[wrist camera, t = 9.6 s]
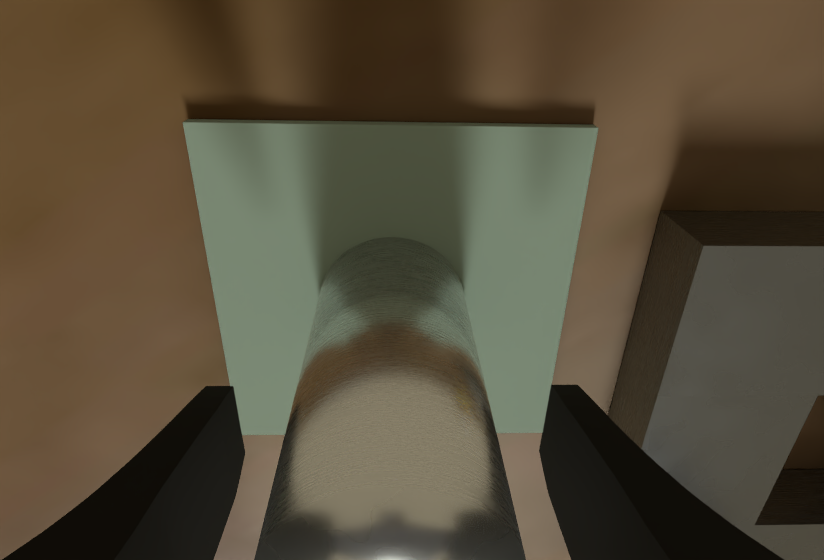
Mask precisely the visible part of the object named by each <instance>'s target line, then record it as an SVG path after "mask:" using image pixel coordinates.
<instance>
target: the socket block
mask: <svg viewBox="0 0 824 560" xmlns="http://www.w3.org/2000/svg"><path fill="white" fill-rule="evenodd" d="M818 395H824V212H749V211H661V212H660V216H659V220H658V224H657V228H656V232H655V235H654V239H653V243H652V247H651V251H650V255H649V259H648V263H647V267H646V271H645V275H644V278H643V282H642V286H641V290H640V294H639V298H638V302H637V306H636V310H635V314H634V317H633V321H632V325H631V329H630V333H629V337H628V341H627V345H626V349H625V353H624V357H623V360H622V364H621V368H620V372H619V376H618V380H617V384H616V388H615V392H614V396H613V400H612V403H611V407H610V411H609V415H608V417H609V418H610V419H611V420H612V421H613V422H614V423H615V424H616V425H617V426H618V427H619V428H620V429H621V430H622V431H623V432H624V433H625V434H626V435H627V436H628V437H629V438H630V439H632V440H633V441H634V442H635V443H636V444H637V445H638V446H639V447H640V448H641V449H642V450H643V451H644V452H645V453H646V454H647V455H648V456H649V457H651V458H652V459H653V460H654V461H655V462H656V463H657V464H658V465H659V466H660V467H662V468H663V469H664V470H665V471H666V472H667V473H669V474H670V475H671V476H672V477H673V478H674V479H675V480H677V481H678V482H679V483H680V484H681V485H682V486H684V487H685V488H686V489H687V490H688V491H690V492H691V493H692V494H693V495H695V496H696V497H697V498H698V499H700V500H701V501H702V502H703V503H705V504H706V505H707V506H709V507H710V508H711V509H713V510H714V511H715V512H717V513H718V514H719V515H721V516H722V517H723V518H724V519H726V520H727V521H728V522H730V523H731V524H733V525H734V526H735V527H737V528H738V529H740V530H741V531H742V532H744V533H745V534H747V535H748V536H750V537H751V538H753V539H754V540H756V541H757V542H759V543H760V544H762V545H763V546H765V547H766V548H768V549H769V550H770V551H772V552H773V553H775V554H776V555H778V556H779V557H781V558H783V559H784V560H824V469H804V470H782V468H783V466H784V464H785V462H786V460H787V458H788V456H789V454H790V452H791V450H792V447H793V445H794V443H795V441H796V439H797V437H798V435H799V433H800V431H801V429H802V427H803V425H804V423H805V421H806V419H807V417H808V415H809V413H810V411H811V409H812V407H813V405H814V403H815V401H816V398H817V396H818Z"/></svg>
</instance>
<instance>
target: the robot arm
mask: <svg viewBox="0 0 824 560" xmlns="http://www.w3.org/2000/svg"><path fill="white" fill-rule="evenodd" d="M539 452H540V456H541V461H542V466H543V471H544V476H545V480H546V485H547V489H548V493H549V496H550V499H551V502H552V505H553V508H554V511H555V514H556V517H557V520H558V523H559V526H560V529H561V531H562V534H563V537H564V540H565V543H566V546H567V549H568V551H569V554H570V557H571V560H784V559H783V558H781V557H779V556H778V555H776V554H775V553H773V552H772V551H770V550H769V549H768V548H766V547H765V546H763V545H762V544H760V543H759V542H757V541H756V540H754V539H753V538H751V537H750V536H748V535H747V534H745V533H744V532H742V531H741V530H740V529H738V528H737V527H735V526H734V525H733V524H731V523H730V522H728V521H727V520H726V519H724V518H723V517H722V516H721V515H719V514H718V513H717V512H715V511H714V510H713V509H711V508H710V507H709V506H707V505H706V504H705V503H703V502H702V501H701V500H700V499H698V498H697V497H696V496H695V495H693V494H692V493H691V492H690V491H688V490H687V489H686V488H685V487H684V486H682V485H681V484H680V483H679V482H678V481H677V480H675V479H674V478H673V477H672V476H671V475H670V474H669V473H667V472H666V471H665V470H664V469H663V468H662V467H660V466H659V465H658V464H657V463H656V462H655V461H654V460H653V459H652V458H651V457H649V456H648V455H647V454H646V453H645V452H644V451H643V450H642V449H641V448H640V447H639V446H638V445H637V444H636V443H635V442H634V441H633V440H632V439H630V438H629V437H628V436H627V435H626V434H625V433H624V432H623V431H622V430H621V429H620V428H619V427H618V426H617V425H616V424H615V423H614V422H613V421H612V420H611V419H610V418H609V417H608V416H607V415H606V414H605V412H604V411H603V410H602V409H601V408H600V407H599V406H598V405H597V404H596V403H595V402H594V401H593V400H592V399H591V398H590V397H589V396H588V395H587V394H586V393H585V392H584V391H583V390H582V389H581V388H580V387H579V386H578V385H551V389H550V394H549V400H548V405H547V411H546V416H545V422H544V427H543V433H542V438H541V444H540V449H539ZM244 456H245V449H244V444H243V438H242V432H241V427H240V421H239V415H238V410H237V404H236V398H235V393H234V387H233V386H206V387H205V388H204V389H203V390H201V391H200V392H199V393H198V394H197V395H196V396H195V397H194V398H193V399H192V400H191V401H190V402H189V403H188V404H187V405H186V406H185V407H184V408H183V409H182V410H181V411H180V412H179V413H178V414H177V415H176V417H175V418H174V419H173V420H172V421H171V422H170V423H169V424H168V425H167V426H166V427H165V428H164V429H163V430H162V431H160V432H159V433H158V434H157V435H156V436H155V437H154V438H153V439H152V440H151V441H150V442H149V443H148V444H147V445H146V446H145V447H144V448H143V449H142V450H141V451H140V452H139V453H138V454H137V455H136V456H134V457H133V458H132V459H131V460H130V461H129V462H128V463H127V464H126V465H125V466H123V467H122V468H121V469H120V470H119V471H118V472H117V473H116V474H114V475H113V476H112V477H111V478H110V479H109V480H108V481H106V482H105V483H104V484H103V485H102V486H101V487H100V488H99V489H97V490H96V491H95V492H94V493H93V494H91V495H90V496H89V497H88V498H86V499H85V500H84V501H83V502H81V503H80V504H79V505H78V506H76V507H75V508H74V509H73V510H71V511H70V512H69V513H67V514H66V515H65V516H63V517H62V518H61V519H59V520H58V521H57V522H55V523H54V524H53V525H52V526H50V527H49V528H47V529H46V530H45V531H43V532H42V533H41V534H39V535H38V536H36V537H35V538H33V539H32V540H30V541H29V542H27V543H26V544H24V545H23V546H21V547H20V548H19V549H17V550H16V551H14V552H13V553H11V554H10V555H8V556H7V557H5V558H4V559H2V560H213V559H214V556H215V553H216V551H217V548H218V545H219V542H220V539H221V537H222V534H223V531H224V528H225V525H226V522H227V520H228V517H229V514H230V511H231V508H232V505H233V502H234V499H235V496H236V492H237V488H238V484H239V479H240V475H241V470H242V465H243V461H244Z"/></svg>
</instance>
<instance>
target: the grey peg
mask: <svg viewBox="0 0 824 560" xmlns="http://www.w3.org/2000/svg"><path fill="white" fill-rule="evenodd" d="M254 560H526V559H525V554H524V550H523V545H522V541H521V537H520V532H519V528H518V524H517V520H516V515H515V511H514V507H513V502H512V498H511V494H510V489H509V485H508V481H507V477H506V472H505V468H504V464H503V459H502V455H501V451H500V446H499V442H498V438H497V434H496V429H495V425H494V421H493V416H492V412H491V408H490V403H489V399H488V395H487V391H486V386H485V382H484V378H483V373H482V369H481V365H480V360H479V356H478V352H477V348H476V343H475V339H474V335H473V330H472V326H471V322H470V317H469V313H468V309H467V305H466V300H465V296H464V292H463V287H462V284H461V281H460V278H459V276H458V274H457V272H456V270H455V269H454V267H453V266H452V265H451V263H450V262H449V261H448V260H447V259H446V258H445V257H444V256H443V255H442V254H440V253H439V252H438V251H436V250H435V249H433V248H431V247H430V246H428V245H426V244H423V243H421V242H418V241H415V240H411V239H406V238H398V237H386V238H378V239H372V240H369V241H366V242H363V243H360V244H358V245H356V246H354V247H352V248H351V249H349V250H347V251H346V252H345V253H343V254H342V255H341V256H340V257H339V258H338V259H337V260H336V261H335V262H334V263H333V264H332V265H331V267H330V268H329V270H328V271H327V273H326V275H325V278H324V280H323V283H322V286H321V290H320V294H319V298H318V302H317V306H316V311H315V315H314V319H313V323H312V327H311V331H310V335H309V339H308V343H307V347H306V351H305V355H304V359H303V364H302V368H301V372H300V376H299V380H298V384H297V388H296V392H295V396H294V400H293V404H292V408H291V412H290V417H289V421H288V425H287V429H286V433H285V437H284V441H283V445H282V449H281V453H280V457H279V461H278V465H277V470H276V474H275V478H274V482H273V486H272V490H271V494H270V498H269V502H268V506H267V510H266V514H265V518H264V522H263V527H262V531H261V535H260V539H259V543H258V547H257V551H256V555H255V559H254Z"/></svg>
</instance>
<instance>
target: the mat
mask: <svg viewBox="0 0 824 560" xmlns="http://www.w3.org/2000/svg"><path fill="white" fill-rule="evenodd" d="M183 126H184V132H185V137H186V143H187V148H188V154H189V160H190V165H191V171H192V176H193V182H194V187H195V193H196V198H197V204H198V209H199V215H200V221H201V226H202V232H203V237H204V243H205V248H206V254H207V259H208V265H209V271H210V276H211V282H212V287H213V293H214V298H215V304H216V309H217V315H218V321H219V326H220V332H221V337H222V343H223V348H224V354H225V359H226V365H227V370H228V376H229V382H230V386H233V387H234V393H235V398H236V404H237V410H238V415H239V421H240V427H241V432H242V435H285V433H286V429H287V425H288V421H289V417H290V412H291V408H292V404H293V400H294V396H295V392H296V388H297V384H298V380H299V376H300V372H301V368H302V364H303V359H304V355H305V351H306V347H307V343H308V339H309V335H310V331H311V327H312V323H313V319H314V315H315V311H316V306H317V302H318V298H319V294H320V290H321V286H322V283H323V280H324V278H325V275H326V273H327V271H328V270H329V268H330V267H331V265H332V264H333V263H334V262H335V261H336V260H337V259H338V258H339V257H340V256H341V255H342V254H343V253H345V252H346V251H347V250H349V249H351V248H352V247H354V246H356V245H358V244H360V243H363V242H366V241H369V240H372V239H378V238H386V237H398V238H406V239H411V240H415V241H418V242H421V243H423V244H426V245H428V246H430V247H431V248H433V249H435V250H436V251H438V252H439V253H440V254H442V255H443V256H444V257H445V258H446V259H447V260H448V261H449V262H450V263H451V265H452V266H453V267H454V269H455V270H456V272H457V274H458V276H459V278H460V281H461V284H462V287H463V292H464V296H465V300H466V305H467V309H468V313H469V317H470V322H471V326H472V330H473V335H474V339H475V343H476V348H477V352H478V356H479V360H480V365H481V369H482V373H483V378H484V382H485V386H486V391H487V395H488V399H489V403H490V408H491V412H492V416H493V421H494V425H495V429H496V433H543V427H544V422H545V416H546V411H547V405H548V400H549V394H550V389H551V385H552V379H553V374H554V368H555V363H556V357H557V352H558V346H559V341H560V335H561V330H562V324H563V319H564V313H565V308H566V302H567V297H568V292H569V286H570V281H571V275H572V270H573V264H574V259H575V253H576V248H577V242H578V237H579V231H580V226H581V220H582V215H583V209H584V204H585V198H586V193H587V188H588V182H589V177H590V171H591V166H592V160H593V155H594V149H595V144H596V138H597V133H598V127H596V126H595V125H584V124H511V123H438V122H364V121H291V120H218V119H187V120H186V121H184V122H183Z"/></svg>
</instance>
